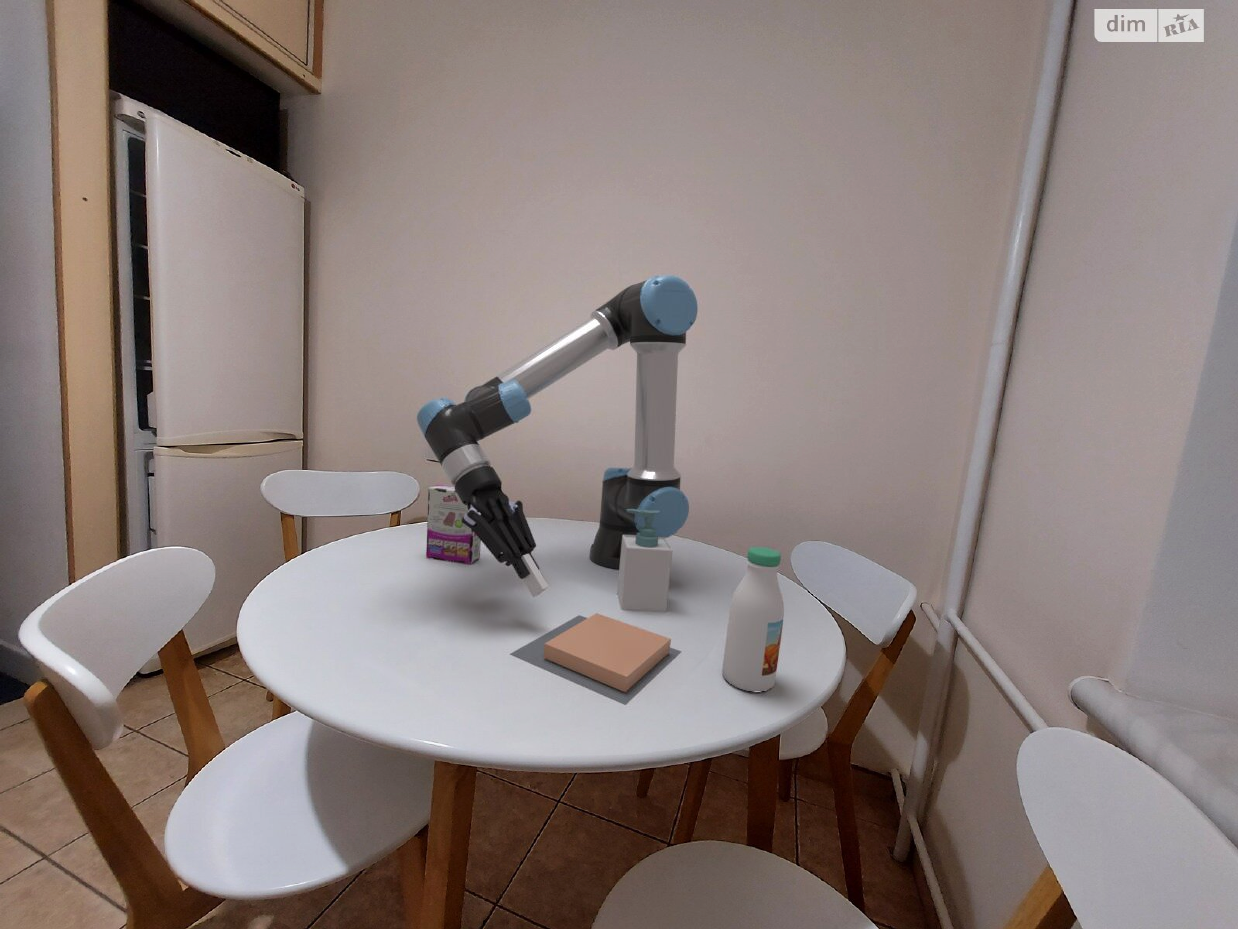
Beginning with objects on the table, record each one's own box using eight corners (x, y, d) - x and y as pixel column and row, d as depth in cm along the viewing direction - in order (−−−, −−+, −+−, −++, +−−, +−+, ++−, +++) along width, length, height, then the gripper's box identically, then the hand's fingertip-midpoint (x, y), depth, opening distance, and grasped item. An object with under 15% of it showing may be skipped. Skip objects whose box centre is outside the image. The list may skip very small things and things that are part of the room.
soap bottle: (615, 595, 105) (624, 503, 102) (658, 597, 106) (667, 506, 103) (619, 613, 96) (629, 514, 94) (665, 615, 97) (676, 517, 95)
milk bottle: (742, 698, 72) (760, 560, 69) (711, 669, 79) (726, 543, 76) (785, 689, 75) (804, 558, 72) (752, 663, 82) (768, 541, 79)
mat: (509, 659, 77) (509, 654, 77) (578, 619, 92) (579, 615, 92) (624, 710, 67) (625, 704, 67) (681, 656, 82) (681, 651, 82)
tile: (544, 643, 76) (626, 677, 69) (596, 613, 88) (671, 639, 81) (543, 659, 76) (625, 694, 69) (595, 627, 88) (669, 653, 81)
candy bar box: (480, 558, 119) (484, 489, 117) (471, 565, 114) (475, 492, 112) (436, 552, 121) (438, 483, 119) (424, 558, 116) (427, 487, 114)
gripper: (487, 484, 98) (551, 591, 92) (431, 493, 87) (500, 615, 81) (510, 461, 94) (578, 570, 89) (455, 466, 83) (528, 592, 77)
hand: (540, 591), depth 85 cm, fingers closed
